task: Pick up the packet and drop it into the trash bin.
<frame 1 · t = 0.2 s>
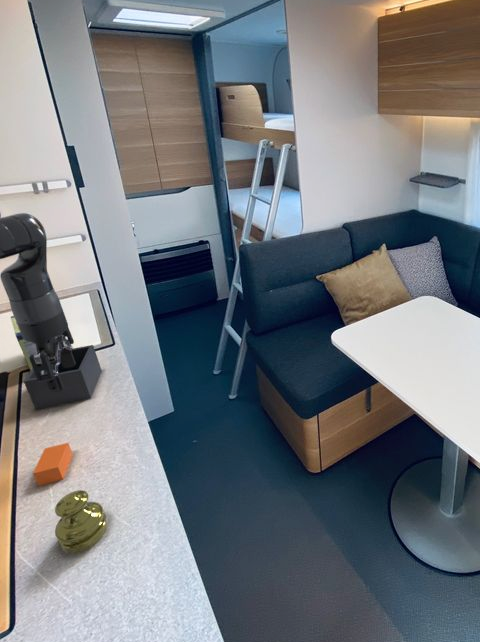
hand: (64, 378, 89), 20 cm above the worktop, tool pointing down, fingers open, 8 cm apart
olive gold metallic knob: (86, 535, 77), on the worktop
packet: (57, 470, 91), on the worktop
protein box: (51, 362, 128), on the worktop
trash bin: (71, 390, 115), on the worktop
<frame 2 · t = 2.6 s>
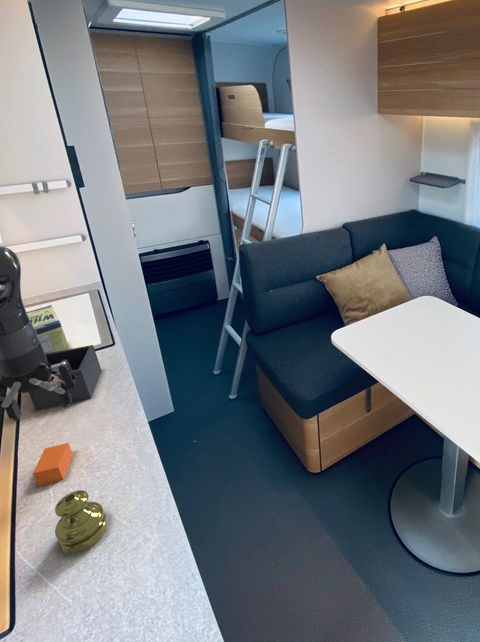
hand: (43, 411, 86), 16 cm above the worktop, tool pointing down, fingers open, 8 cm apart
nothing on the worktop moved.
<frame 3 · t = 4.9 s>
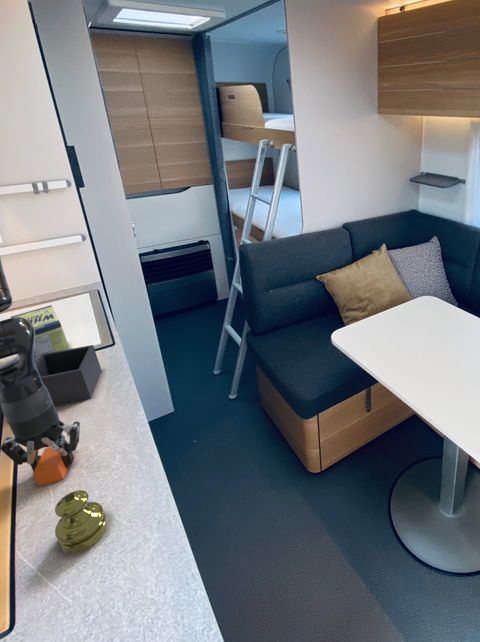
hand: (55, 468, 90), 1 cm above the worktop, tool pointing down, fingers closed on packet, 4 cm apart
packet: (57, 470, 91), on the worktop, touching gripper
everything else where it was.
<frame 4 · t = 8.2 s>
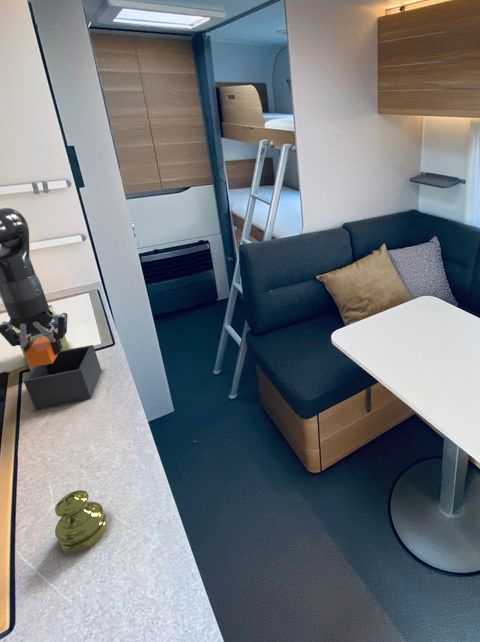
hand: (45, 354, 102), 17 cm above the worktop, tool pointing down, fingers closed on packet, 4 cm apart
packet: (46, 357, 103), point 16 cm above the worktop, touching gripper
everything else where it was.
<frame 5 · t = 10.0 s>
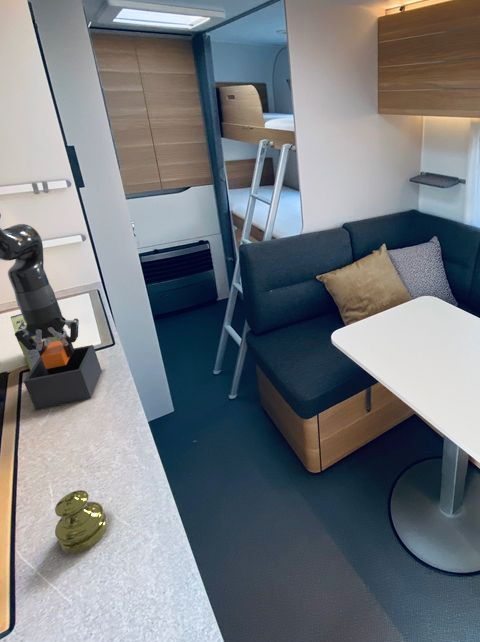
hand: (59, 357, 111), 11 cm above the worktop, tool pointing down, fingers closed on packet, 4 cm apart
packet: (60, 359, 111), point 10 cm above the worktop, touching gripper
everything else where it was.
when the fingers open (8 cm above the worktop, at t = 11.4 s): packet drops 6 cm, resting on trash bin.
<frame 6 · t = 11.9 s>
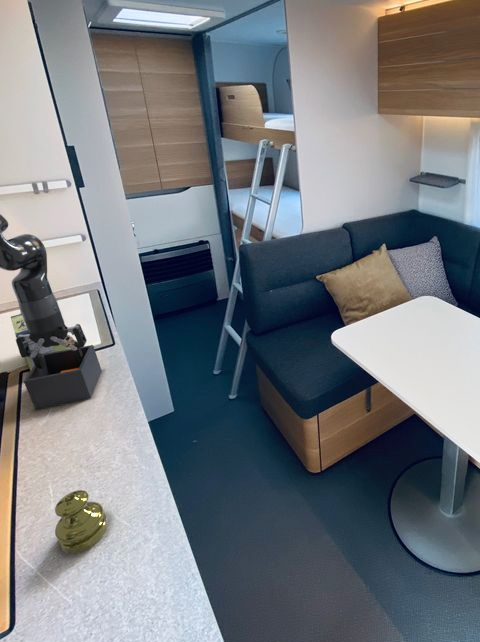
hand: (60, 363, 111), 9 cm above the worktop, tool pointing down, fingers open, 8 cm apart
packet: (70, 388, 115), point 1 cm above the worktop, touching trash bin
everything else where it was.
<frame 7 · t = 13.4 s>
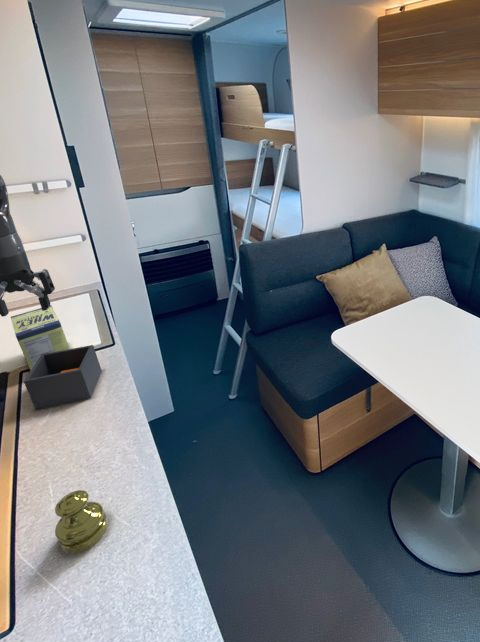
hand: (25, 312, 104), 26 cm above the worktop, tool pointing down, fingers open, 8 cm apart
nothing on the worktop moved.
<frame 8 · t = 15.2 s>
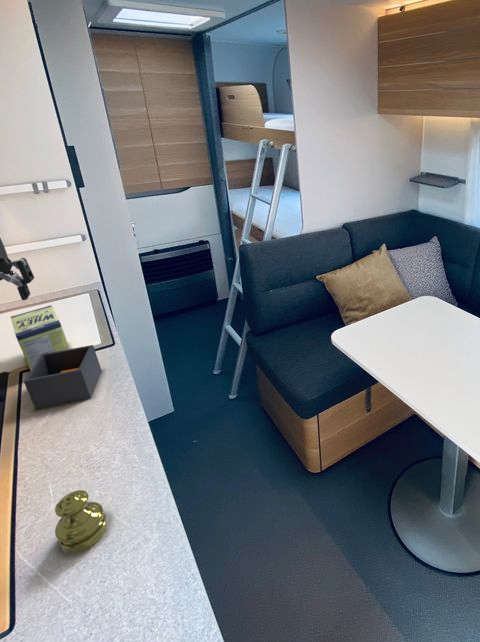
hand: (4, 302, 101), 30 cm above the worktop, tool pointing down, fingers open, 8 cm apart
nothing on the worktop moved.
at the end: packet inside the target area in the trash bin (0.1 cm from its centre), point 0.8 cm above the trash bin's base; the gripper is holding nothing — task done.
